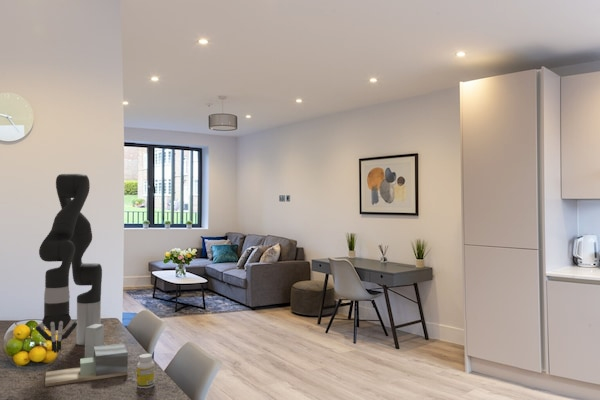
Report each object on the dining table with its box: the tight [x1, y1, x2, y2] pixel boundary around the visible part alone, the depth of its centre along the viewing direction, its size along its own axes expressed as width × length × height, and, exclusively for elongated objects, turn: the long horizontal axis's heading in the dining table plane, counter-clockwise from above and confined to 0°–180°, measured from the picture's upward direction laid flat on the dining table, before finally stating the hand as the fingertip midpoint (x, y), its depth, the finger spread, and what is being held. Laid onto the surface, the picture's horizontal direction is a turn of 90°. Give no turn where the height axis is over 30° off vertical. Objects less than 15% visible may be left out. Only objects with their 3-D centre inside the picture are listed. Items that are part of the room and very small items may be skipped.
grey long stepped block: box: [44, 342, 129, 388], centre depth 163 cm, size 12×25×8 cm, turn 117°
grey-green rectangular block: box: [79, 357, 96, 376], centre depth 165 cm, size 6×14×4 cm, turn 116°
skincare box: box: [84, 323, 105, 358], centre depth 182 cm, size 6×4×12 cm
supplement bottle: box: [136, 353, 156, 389], centre depth 154 cm, size 5×5×10 cm
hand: (56, 351), depth 159 cm, fingers closed
